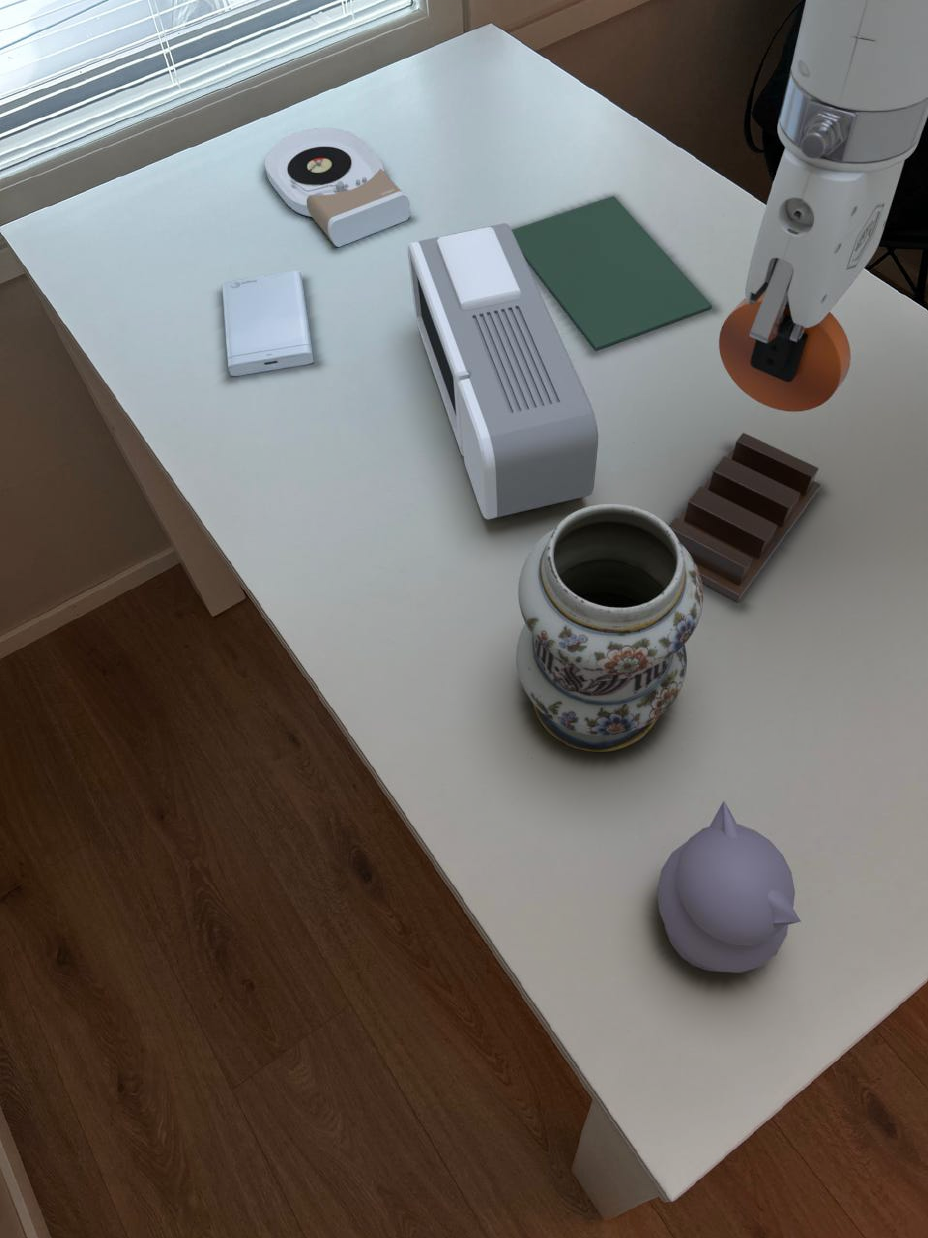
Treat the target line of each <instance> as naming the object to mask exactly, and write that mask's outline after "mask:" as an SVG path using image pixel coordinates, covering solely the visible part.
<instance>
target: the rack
mask: <svg viewBox="0 0 928 1238" xmlns="http://www.w3.org/2000/svg"><path fill="white" fill-rule="evenodd" d="M818 471H819V467H817V466H815V465H813V464H811V463H810V462H809V463H808V462H807V461H805V460H802V459H800V458H798V457H796V456H794V455H792V454H789V453H788V452H785V451H783V450H781V449H779V448H777V447H775V446H773V445H771V444H769V443H766V442H765V441H763V440H760V439H759V438H756V437H753V436H751V435H749V434H747V433H745V432H742V433H741V435H740V436H739V437H738V438H737V440H736V441H735V445H734V448H733V449H731V451H730V452H729V454H728V455H727V456H723V457H722V459H720V461H719V462H718V463H717V464H716V466H715V467H714V468H713V470H712V473H711V476H710V477H709V479H708V480H707V481H706V483H705V484H704V485H703V486H699V487H698V488H697V490H696V491H695V492H694V494H693V495H691V497H690V499H689V500H688V501H687V505H686V507H685V509H684V510H683V512H682V513H681V514H680V515H679V516H678V517H675V518H674V519H673V520H672V521H671V522H670V524H669V525H668V526H669V527H670V528H671V530H672V531H673V532H674V534H675V535H676V537H677V539H678V540H679V542H680V543H681V544H682V545H683V546H684V547H685V548H686V550H687V551H688V552H689V554H690V555H691V557H692V558H693V560H694V562H695V564H696V566H697V568H698V571H699V574H700V577H701V581H702V585H704V586H706V587H709V588H711V590H714V591H716V592H717V593H719V594H721V595H723V596H725V597H727V598H729V599H731V600H732V601H734V602H737V603H739V602H740V600H741V599H742V598H743V596H744V595H745V594H746V592H747V591H748V589H749V588H750V587H751V585H752V583H754V581H755V579H756V578H757V577H758V575H759V574H760V572H761V571H762V570H763V568H764V567H765V566H766V564H767V563H768V562H769V560H770V559H771V557H773V554H774V553H775V552H776V551H777V549H778V548H779V546H780V545H781V544H782V542H783V541H784V540H785V538H786V536H788V534H789V532H790V531H791V530H792V528H793V527H794V526H795V524H796V523H797V521H798V520H799V519H800V517H801V516H802V515H803V513H804V512H805V510H806V509H807V508H808V507H809V505H810V503H811V502H812V500H813V499H814V498H815V496H816V495H817V494H818V492H819V490H820V488H821V483H818V482H817V481H815V479H816V477H817V474H818Z"/></svg>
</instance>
